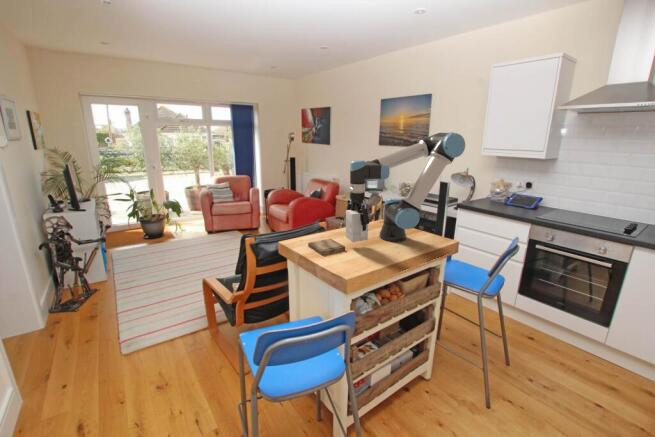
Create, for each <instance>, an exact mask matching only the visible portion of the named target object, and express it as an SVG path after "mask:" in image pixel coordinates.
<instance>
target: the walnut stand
mask: <svg viewBox="0 0 655 437" xmlns="http://www.w3.org/2000/svg"><path fill="white" fill-rule="evenodd" d="M307 247H309V248H310V249H311V250H313V251H314V252H316V253H317V254H319V255H320V256H326V255H329V254H334V253H338V252H342V251H343V252H344V251H346V246H345V245H344V244H341V243H340V242H337V241H336V240H334V239H333V238H327V239H321V240H316V241H311V242H308V243H307Z"/></svg>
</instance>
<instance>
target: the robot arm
mask: <svg viewBox="0 0 655 437" xmlns="http://www.w3.org/2000/svg"><path fill="white" fill-rule="evenodd" d="M465 149H466V140H465V138H464V137H463V135H461V134H459V133H457V132H452V131H451V132H437V133H434V134H433V135H429V136H427V137H425V138H423V139H420V140H419V141H418V143H415V144H412V145H409V146H406V147H405V148H402V149H399V150H396V151H394V152H391V153H389V154H386V155H384V156H381V157H378V158H375V159H374V160H367V161H365V160H352V161H351V162H350V168H349V178H350V179H349V191H350V192H349V199H348V200H347V206H346V210H357V212H358V213H363V214H360V220H361V223H362V224H361V230H360V237H364V236H365V235H366V224H368V225H369V224H370V219H369V218H370V217H369V211H368V204H367V203H364V200H365V198H366V194H365V191H366V180H367V181H368V180H381V181H382V180H386V179H389V177H390V174H391V172H390V170H391V169H393V168H396V167H398V166H401V165H404V164H406V163H409V162H412V161H414V160H417V159H419V158H422V157H424V158H427V157H430V158H429V160H428V162H427V163H426V164H425V166H424V168H423V170H422V172H421V173H420V175H419V176H418V178H417V180H416V181H415V183H414V184H413V186H412V188H411V190H409V193H408V194H407V196H406V197H402V198H394V197H393V198H386V199H385V200H384V204H383V205H384V208H383V224H382V226H381V229H380V232H379V238H380V239H381V240H384V241H388V242H394V243H395V242H397V243H398V242H403V241H405V240H406V239H407V233H406V230H412V229H413V228H415V227H416V226H417V225H418V224H419V223H420V213H421V212H422V210H423V209H422V204H423V203H424V202H425V199H426V198H427V197H428V195H429V194H430V192H431V190H432V189H433V187H434V186H435V184H436V182H437V181H438V179H439V178H440V177H441V174H442V173H443V171H444V170H445V168H446V167H447V166H448V165H451V164H452V163H453V162H454V160H455V159H456V158H458V157H460V156H462V154H463V153H464V152H465Z"/></svg>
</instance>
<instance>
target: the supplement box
mask: <svg viewBox="0 0 655 437" xmlns="http://www.w3.org/2000/svg"><path fill="white" fill-rule="evenodd" d="M360 214H363V213H358V212H357V210H347V209H346V210H345V237H346V239H348V240H349V241H351V243H355V242H361V241H363V242H364V241H368V240H369V238H368V237H369V233H368V232H369V224H366V235H365V236H364V237H360V230H361V224H362V223H361V220H360Z"/></svg>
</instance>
